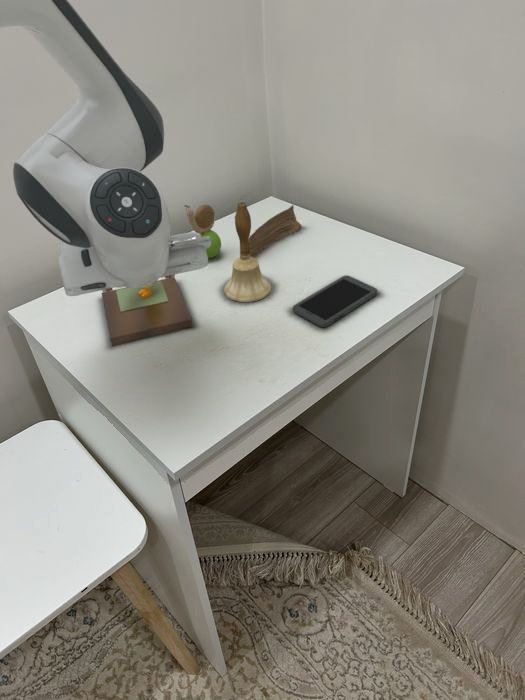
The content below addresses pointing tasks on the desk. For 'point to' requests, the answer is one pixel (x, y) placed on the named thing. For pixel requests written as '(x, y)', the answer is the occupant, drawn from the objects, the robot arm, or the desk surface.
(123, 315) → the board
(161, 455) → the desk surface
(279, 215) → the wood plank
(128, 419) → the desk surface
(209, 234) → the snail figurine
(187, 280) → the desk surface
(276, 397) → the desk surface
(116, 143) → the robot arm
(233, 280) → the hand bell
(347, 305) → the cell phone
